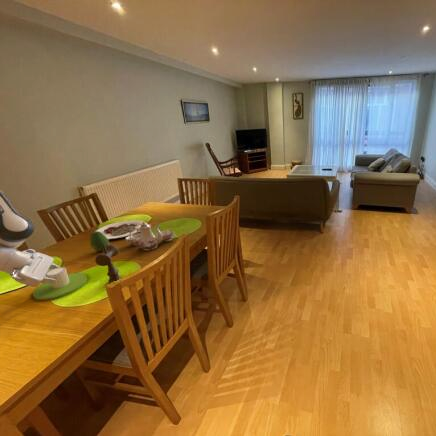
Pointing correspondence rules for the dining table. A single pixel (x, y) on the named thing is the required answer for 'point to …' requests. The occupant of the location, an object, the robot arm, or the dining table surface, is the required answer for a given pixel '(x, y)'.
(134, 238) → the chinaware
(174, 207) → the dining table surface
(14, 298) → the dining table surface
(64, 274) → the shot glass
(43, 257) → the robot arm
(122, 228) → the plated food
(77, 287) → the placemat
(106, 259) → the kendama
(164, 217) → the dining table surface
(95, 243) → the avocado
